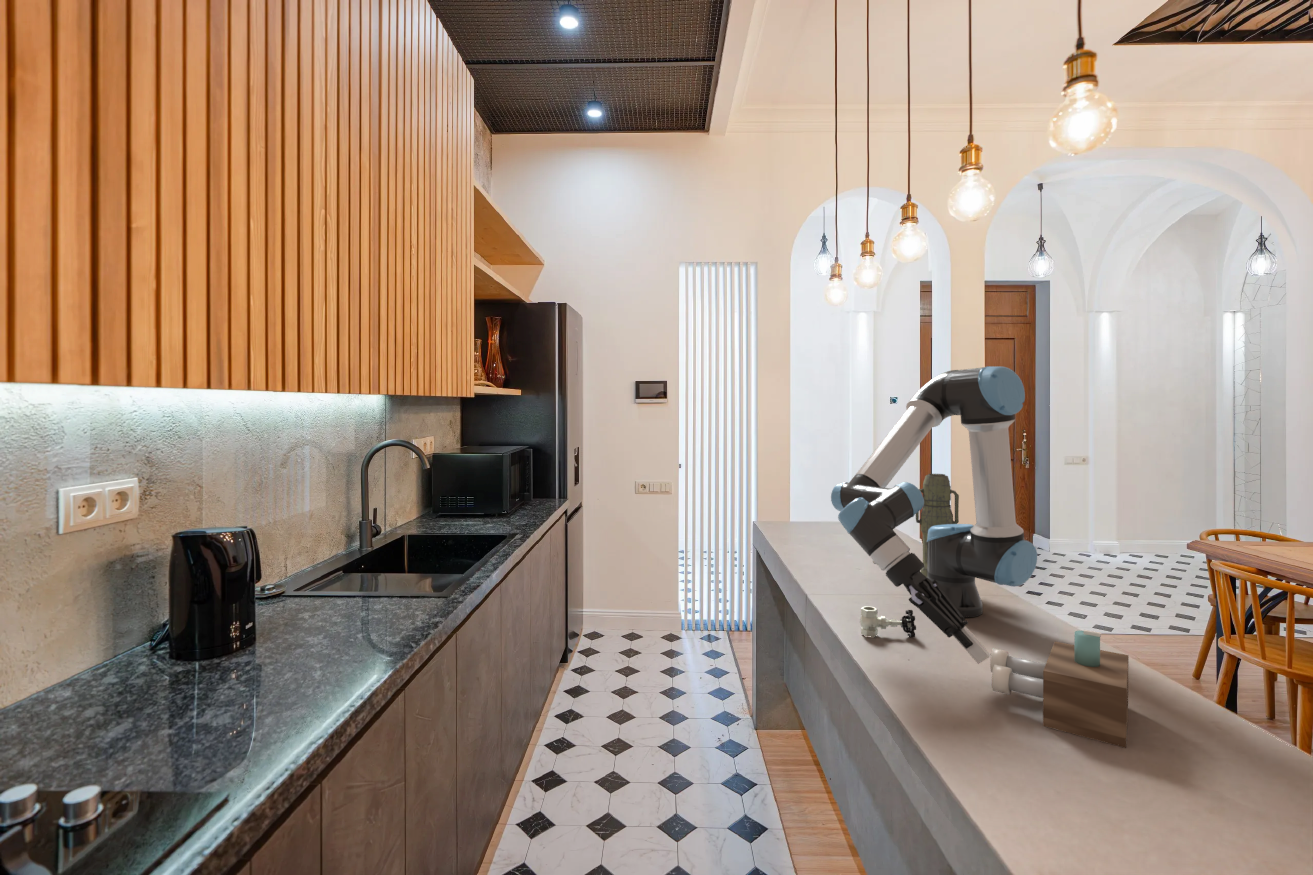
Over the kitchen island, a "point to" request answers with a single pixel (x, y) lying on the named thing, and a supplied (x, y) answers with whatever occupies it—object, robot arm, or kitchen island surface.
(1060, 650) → the mount
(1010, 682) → the knob
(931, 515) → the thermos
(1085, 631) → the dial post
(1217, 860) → the kitchen island surface
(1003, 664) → the knob
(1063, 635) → the kitchen island surface
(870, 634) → the valve
